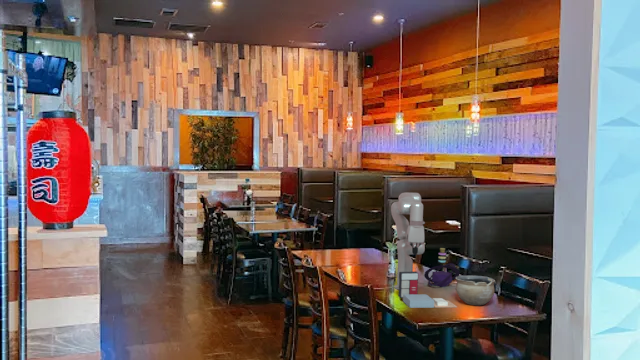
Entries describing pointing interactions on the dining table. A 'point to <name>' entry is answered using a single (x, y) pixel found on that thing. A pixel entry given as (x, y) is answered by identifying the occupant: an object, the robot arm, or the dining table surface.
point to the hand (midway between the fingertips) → (414, 254)
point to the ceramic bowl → (475, 289)
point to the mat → (446, 306)
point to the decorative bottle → (441, 273)
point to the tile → (440, 302)
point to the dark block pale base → (408, 283)
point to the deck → (418, 301)
